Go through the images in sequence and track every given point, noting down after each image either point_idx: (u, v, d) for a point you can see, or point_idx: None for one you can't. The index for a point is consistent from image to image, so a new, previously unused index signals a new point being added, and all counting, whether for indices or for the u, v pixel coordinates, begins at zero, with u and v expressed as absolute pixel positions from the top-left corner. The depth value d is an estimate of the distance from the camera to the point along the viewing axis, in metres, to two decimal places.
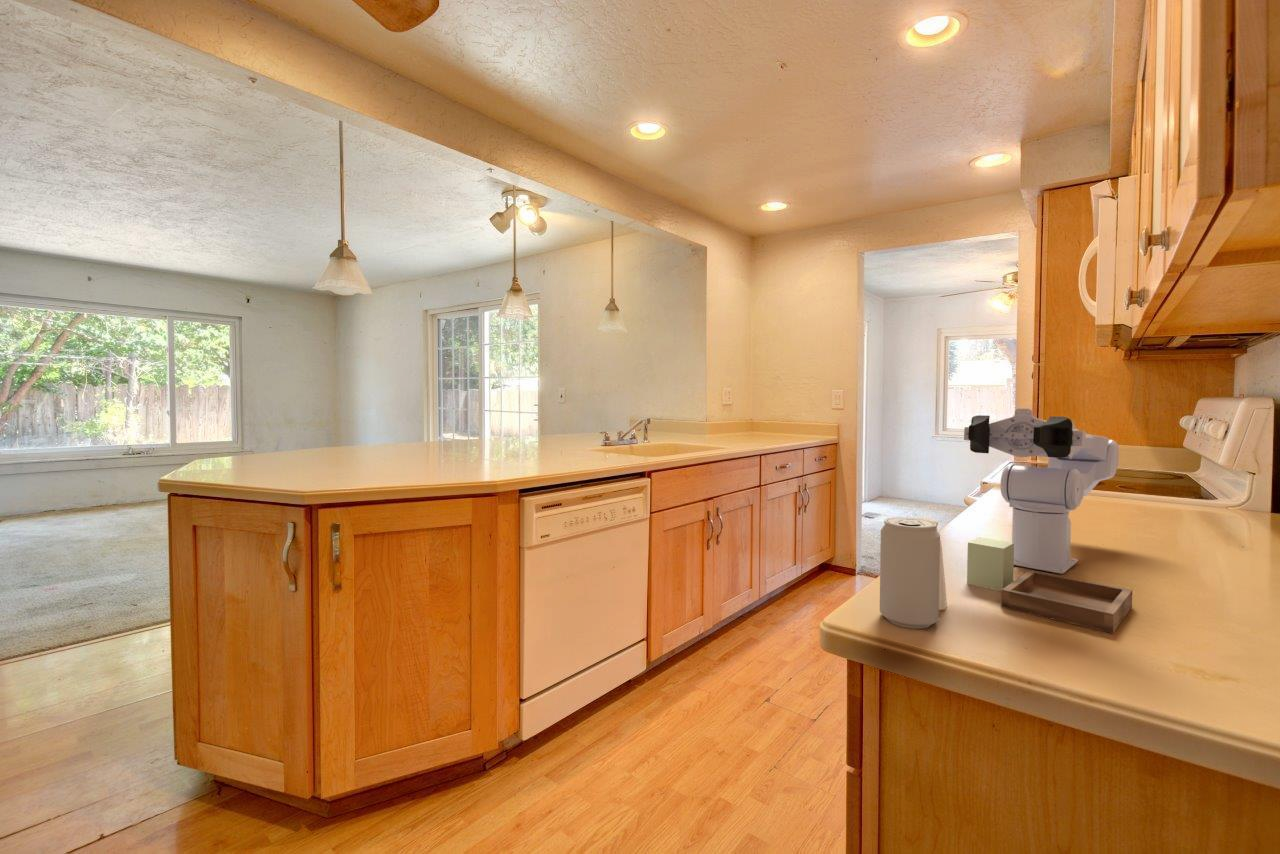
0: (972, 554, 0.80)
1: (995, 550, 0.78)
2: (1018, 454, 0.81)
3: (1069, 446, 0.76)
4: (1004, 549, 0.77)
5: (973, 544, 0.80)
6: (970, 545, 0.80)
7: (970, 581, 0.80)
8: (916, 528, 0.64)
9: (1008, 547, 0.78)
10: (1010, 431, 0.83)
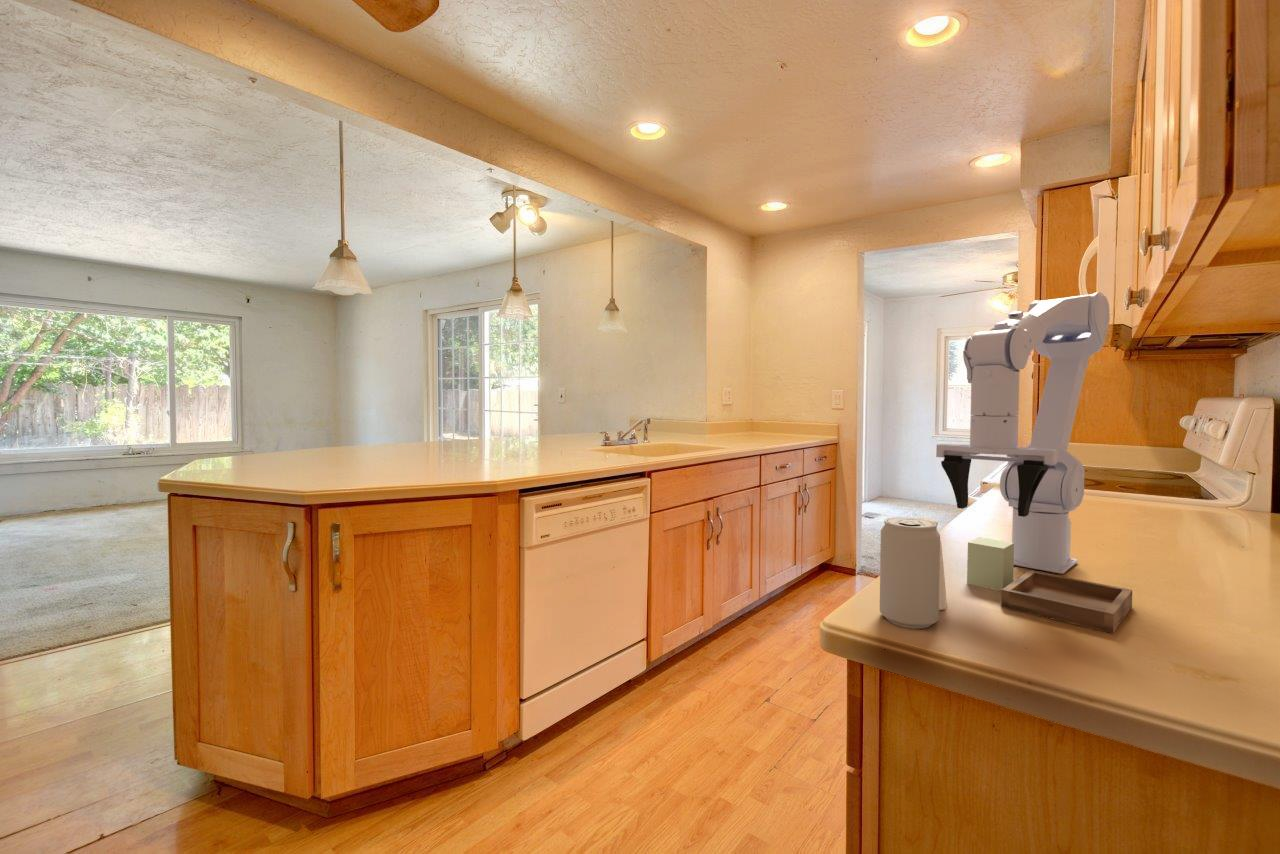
0: (972, 554, 0.80)
1: (995, 550, 0.78)
2: None
3: (1046, 468, 0.76)
4: (1004, 549, 0.77)
5: (973, 544, 0.80)
6: (970, 545, 0.80)
7: (970, 581, 0.80)
8: (916, 528, 0.64)
9: (1008, 547, 0.78)
10: None
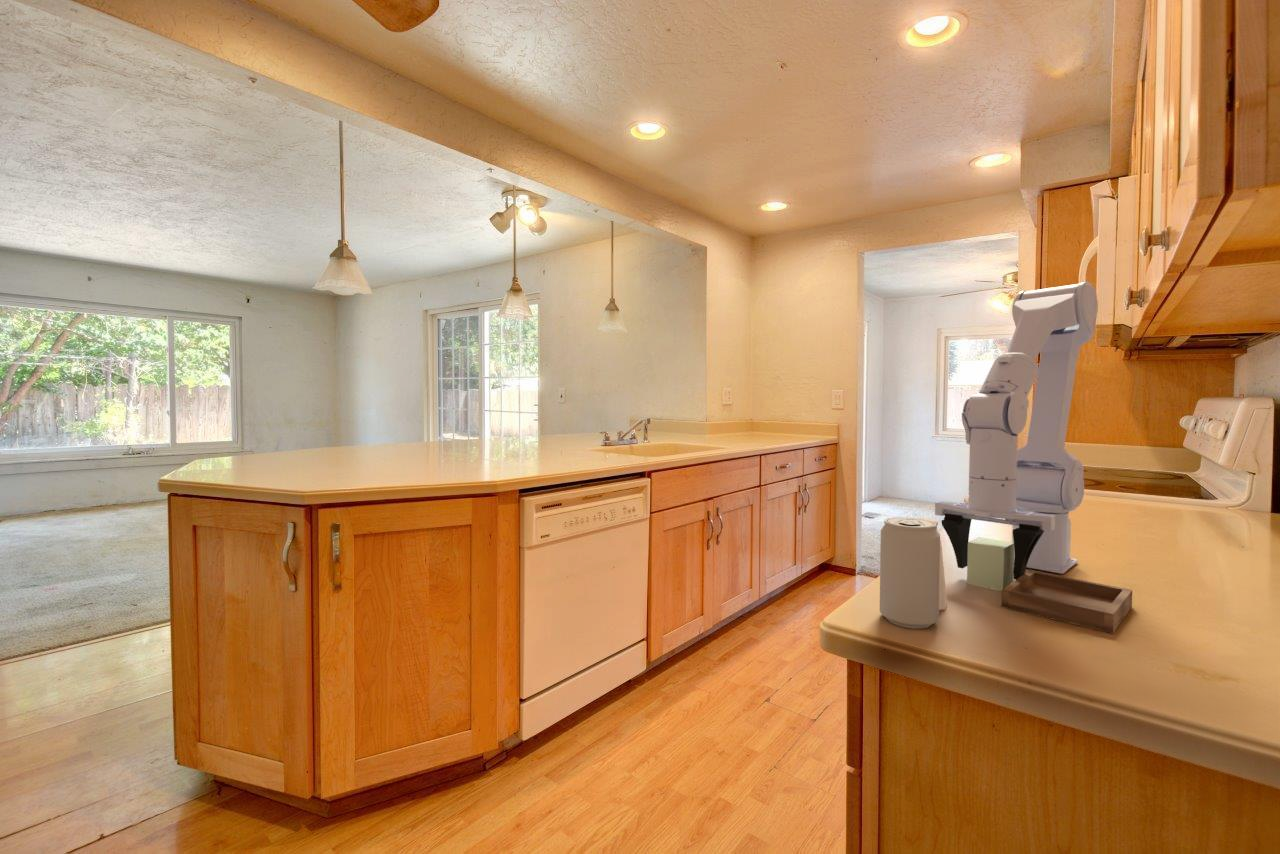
0: (972, 554, 0.80)
1: (995, 550, 0.78)
2: None
3: (1041, 532, 0.76)
4: (1004, 549, 0.77)
5: (973, 544, 0.80)
6: (970, 545, 0.80)
7: (970, 581, 0.80)
8: (916, 528, 0.64)
9: (1008, 547, 0.78)
10: None
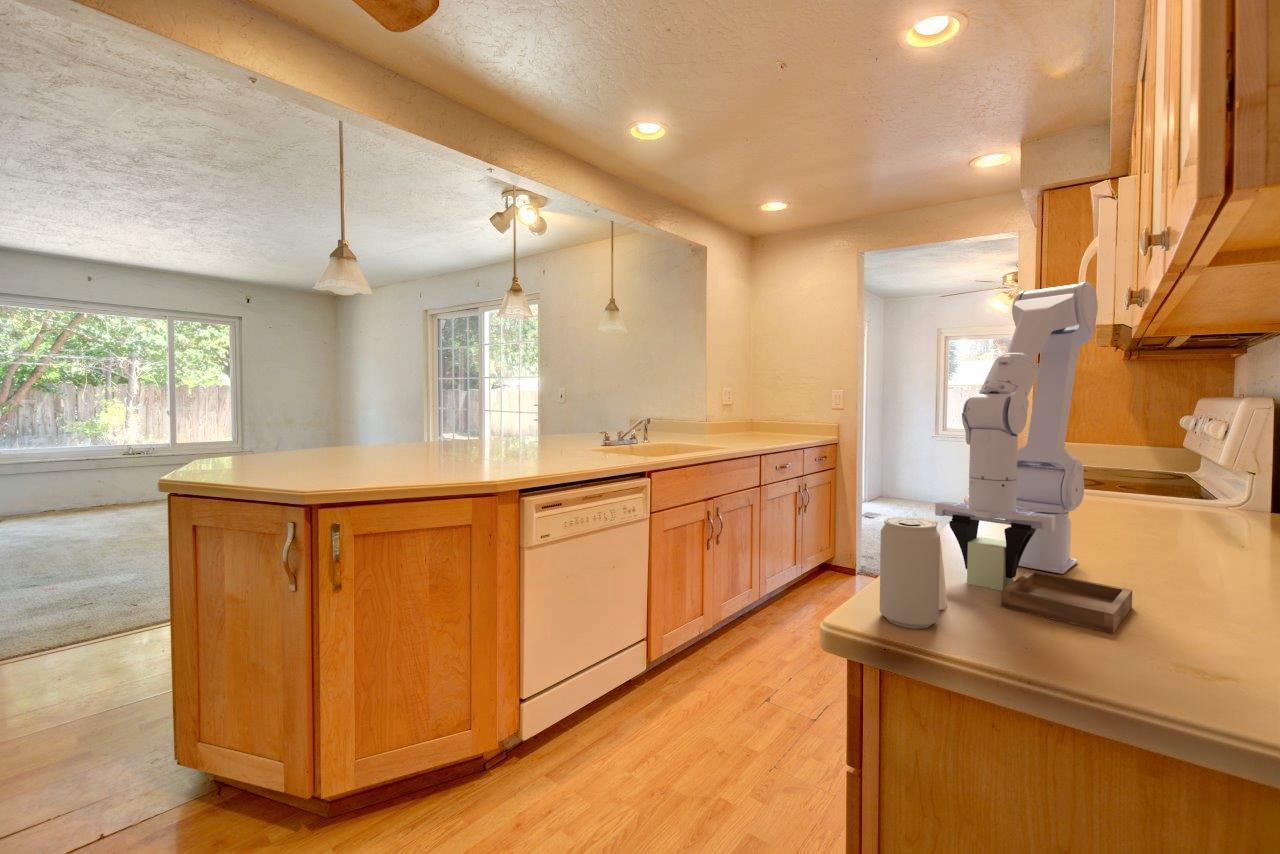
0: (972, 554, 0.80)
1: (995, 550, 0.78)
2: None
3: (1033, 531, 0.77)
4: (1004, 548, 0.77)
5: (973, 544, 0.80)
6: (970, 545, 0.80)
7: (970, 581, 0.80)
8: (916, 528, 0.64)
9: None
10: None
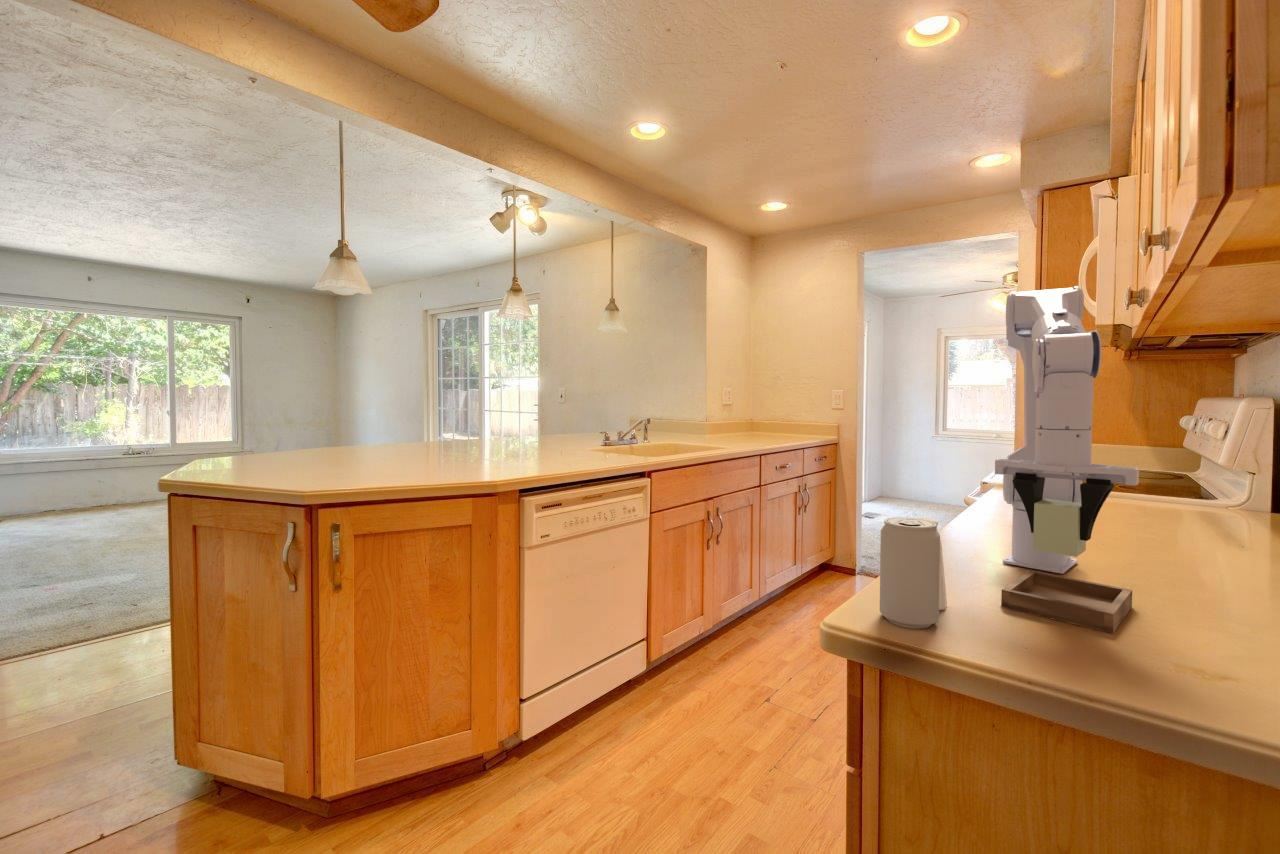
0: (1039, 516, 0.71)
1: (1068, 510, 0.69)
2: None
3: (1112, 487, 0.68)
4: (1078, 509, 0.68)
5: (1041, 505, 0.71)
6: (1037, 506, 0.71)
7: (1037, 547, 0.71)
8: (916, 528, 0.64)
9: None
10: None
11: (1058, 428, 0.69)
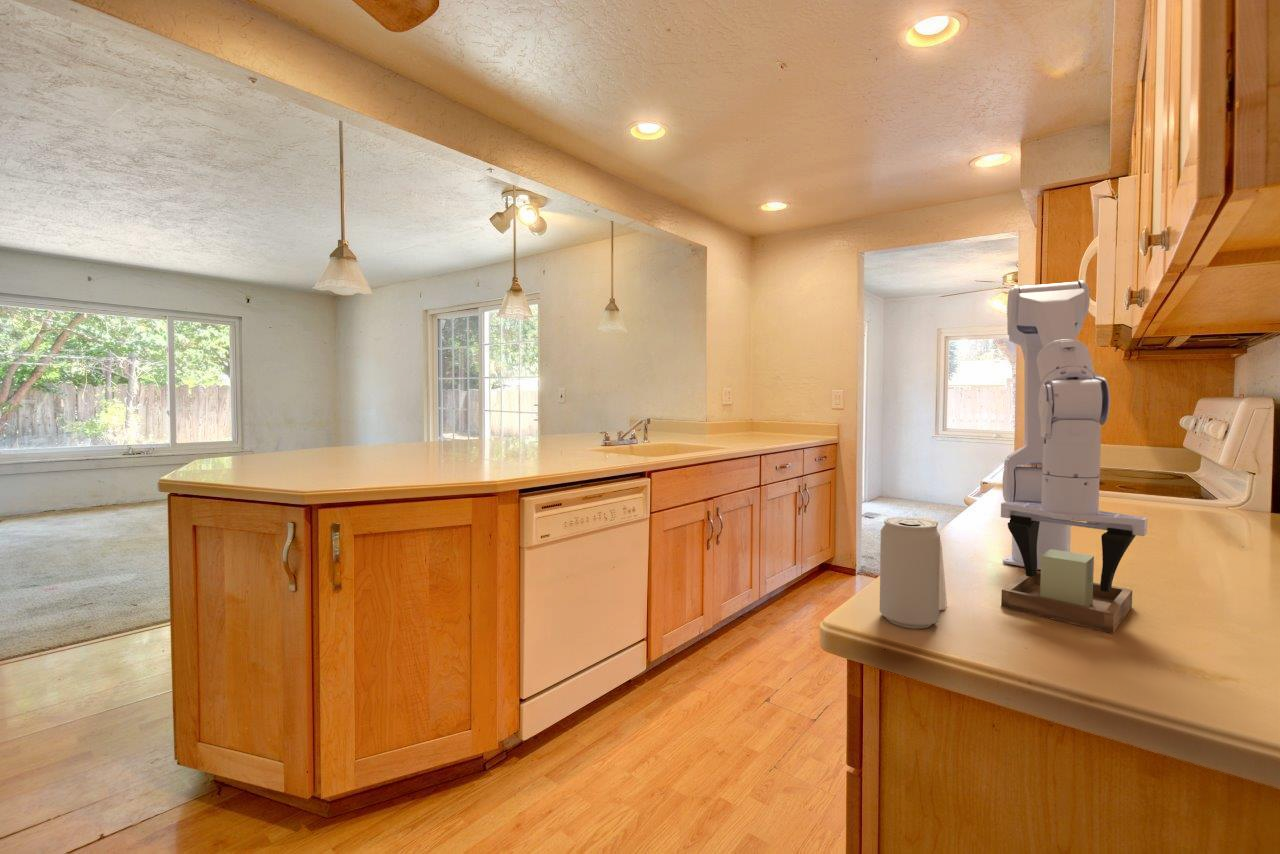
0: (1046, 569, 0.71)
1: (1075, 565, 0.68)
2: None
3: (1133, 537, 0.67)
4: (1086, 564, 0.68)
5: (1048, 557, 0.70)
6: (1044, 558, 0.71)
7: None
8: (916, 528, 0.64)
9: (1089, 561, 0.69)
10: None
11: (1065, 475, 0.68)
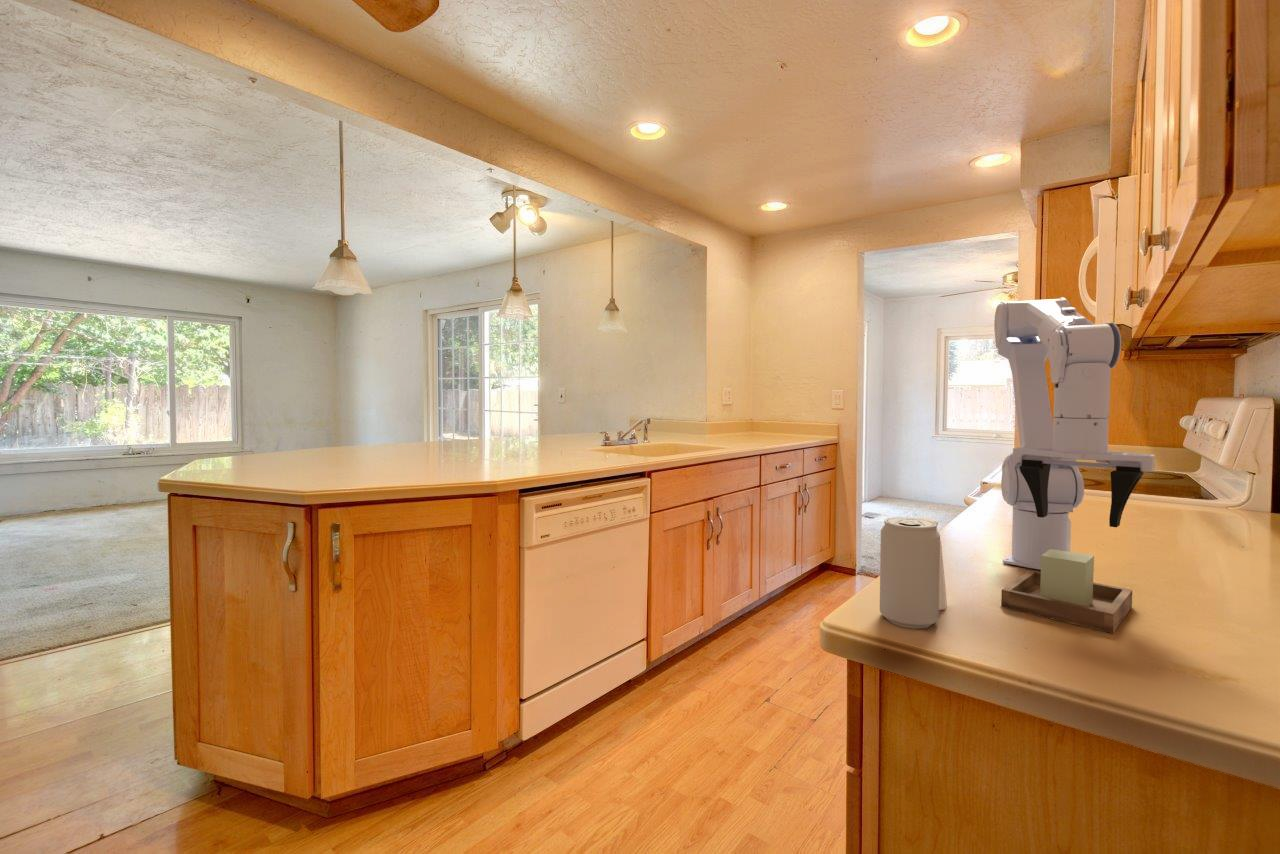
0: (1046, 569, 0.71)
1: (1075, 565, 0.68)
2: None
3: (1141, 475, 0.70)
4: (1086, 564, 0.68)
5: (1048, 557, 0.70)
6: (1044, 558, 0.71)
7: None
8: (916, 528, 0.64)
9: (1089, 561, 0.69)
10: None
11: (1076, 417, 0.71)
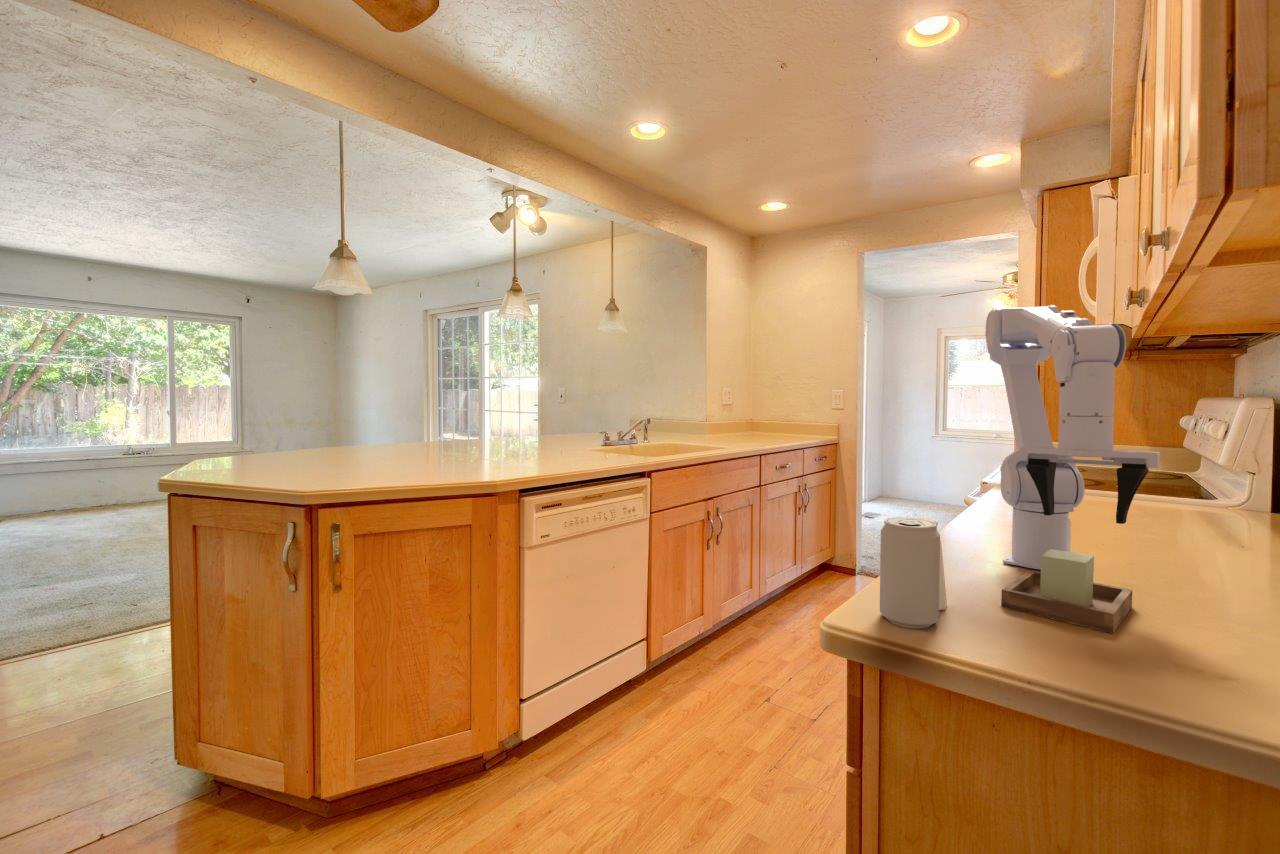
0: (1046, 569, 0.71)
1: (1075, 565, 0.68)
2: None
3: (1147, 472, 0.71)
4: (1086, 564, 0.68)
5: (1048, 557, 0.70)
6: (1044, 558, 0.71)
7: None
8: (916, 528, 0.64)
9: (1089, 561, 0.69)
10: None
11: (1082, 415, 0.72)
